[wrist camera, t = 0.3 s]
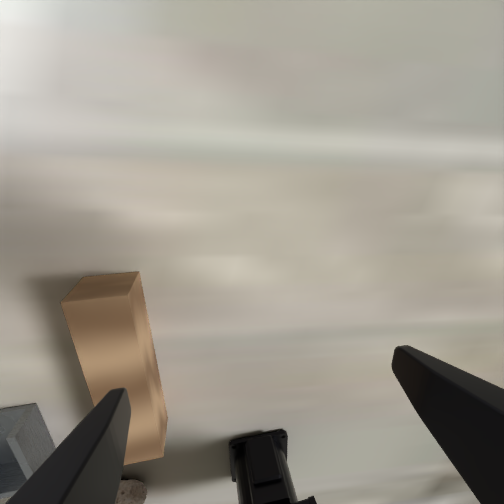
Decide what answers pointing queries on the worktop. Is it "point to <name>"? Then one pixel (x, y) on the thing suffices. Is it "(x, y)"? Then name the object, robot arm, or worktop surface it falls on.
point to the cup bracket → (21, 446)
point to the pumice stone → (131, 492)
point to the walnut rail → (119, 354)
